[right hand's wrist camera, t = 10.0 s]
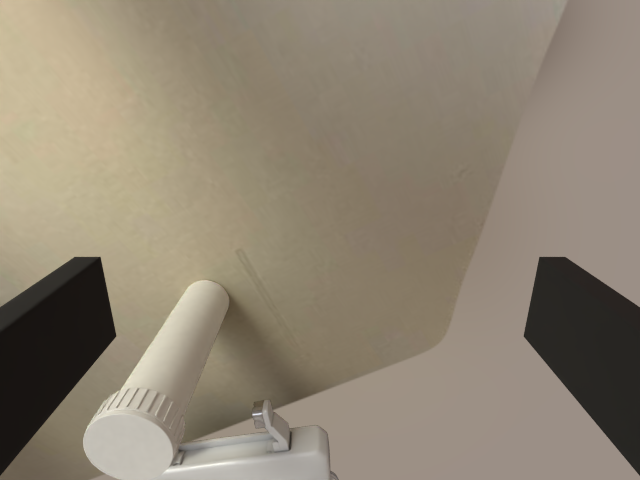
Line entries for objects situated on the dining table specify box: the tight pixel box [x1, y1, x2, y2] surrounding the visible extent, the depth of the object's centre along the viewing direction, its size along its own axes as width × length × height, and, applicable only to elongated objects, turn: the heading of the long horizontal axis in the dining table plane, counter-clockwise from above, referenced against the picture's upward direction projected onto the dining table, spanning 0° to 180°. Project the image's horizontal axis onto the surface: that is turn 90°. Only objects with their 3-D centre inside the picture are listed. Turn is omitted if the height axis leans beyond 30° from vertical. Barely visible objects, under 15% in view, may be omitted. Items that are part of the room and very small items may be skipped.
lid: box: [83, 388, 185, 480], centre depth 25 cm, size 5×5×2 cm
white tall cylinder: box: [120, 280, 229, 415], centre depth 33 cm, size 4×4×18 cm
